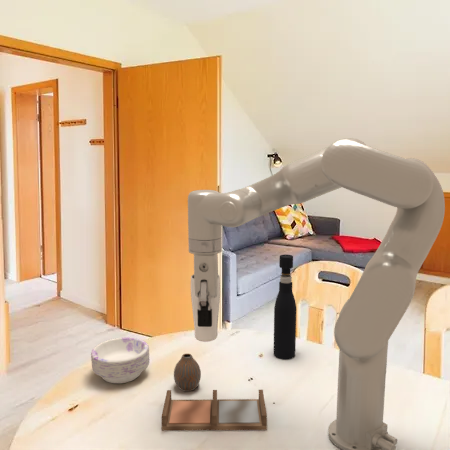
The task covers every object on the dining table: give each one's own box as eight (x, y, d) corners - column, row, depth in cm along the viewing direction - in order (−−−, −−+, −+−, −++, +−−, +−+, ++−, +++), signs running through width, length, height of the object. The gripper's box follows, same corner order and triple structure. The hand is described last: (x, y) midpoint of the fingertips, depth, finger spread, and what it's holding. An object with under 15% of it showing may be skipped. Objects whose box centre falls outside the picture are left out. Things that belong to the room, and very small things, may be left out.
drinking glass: (222, 332, 117) (222, 272, 114) (218, 344, 110) (217, 281, 107) (194, 331, 118) (193, 271, 115) (189, 343, 111) (187, 280, 108)
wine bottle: (270, 351, 146) (271, 254, 140) (289, 348, 148) (291, 252, 142) (278, 360, 140) (280, 259, 134) (299, 357, 142) (301, 257, 136)
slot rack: (262, 402, 118) (262, 389, 117) (266, 429, 107) (266, 415, 106) (167, 403, 118) (167, 390, 117) (161, 430, 107) (161, 416, 106)
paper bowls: (80, 381, 129) (78, 353, 127) (118, 358, 142) (116, 332, 140) (125, 395, 122) (124, 365, 120) (161, 369, 135) (160, 342, 133)
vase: (170, 384, 127) (169, 352, 125) (195, 378, 130) (194, 347, 128) (179, 396, 121) (178, 363, 119) (205, 390, 124) (204, 358, 122)
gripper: (220, 254, 101) (220, 335, 105) (223, 237, 118) (223, 307, 122) (184, 254, 102) (185, 335, 105) (192, 237, 119) (193, 307, 122)
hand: (205, 319), depth 113 cm, fingers closed on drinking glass, 6 cm apart
